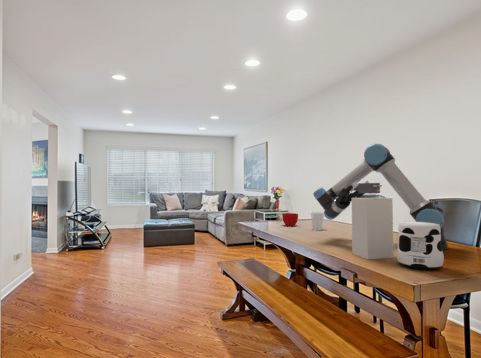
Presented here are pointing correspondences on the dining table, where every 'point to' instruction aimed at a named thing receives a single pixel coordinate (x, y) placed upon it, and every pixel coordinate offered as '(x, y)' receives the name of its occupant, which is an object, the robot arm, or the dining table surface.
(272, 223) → the dining table surface
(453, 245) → the dining table surface
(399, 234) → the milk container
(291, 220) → the ceramic cup
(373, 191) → the plug
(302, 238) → the dining table surface
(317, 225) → the foam cup
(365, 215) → the pillar
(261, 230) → the dining table surface
